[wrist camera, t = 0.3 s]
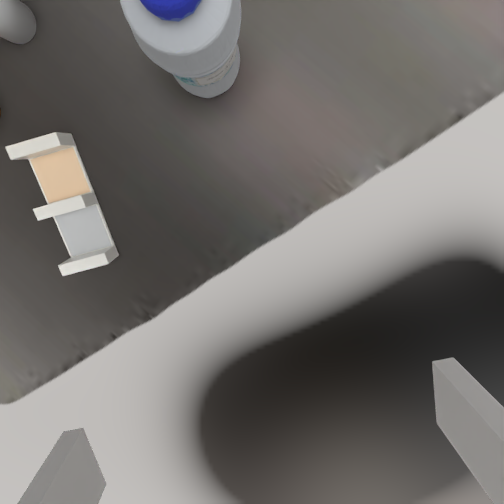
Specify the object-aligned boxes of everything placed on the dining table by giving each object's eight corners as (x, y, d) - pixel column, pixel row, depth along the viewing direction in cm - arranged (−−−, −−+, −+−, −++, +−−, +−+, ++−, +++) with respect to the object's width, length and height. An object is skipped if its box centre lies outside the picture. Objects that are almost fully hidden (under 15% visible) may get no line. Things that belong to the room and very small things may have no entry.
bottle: (210, 117, 36) (169, 79, 16) (158, 66, 34) (47, -42, 15) (256, 64, 34) (272, -45, 15) (205, 8, 33) (150, -189, 14)
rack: (24, 147, 36) (5, 146, 33) (71, 133, 36) (55, 132, 33) (76, 266, 40) (62, 276, 37) (119, 255, 39) (108, 263, 36)
